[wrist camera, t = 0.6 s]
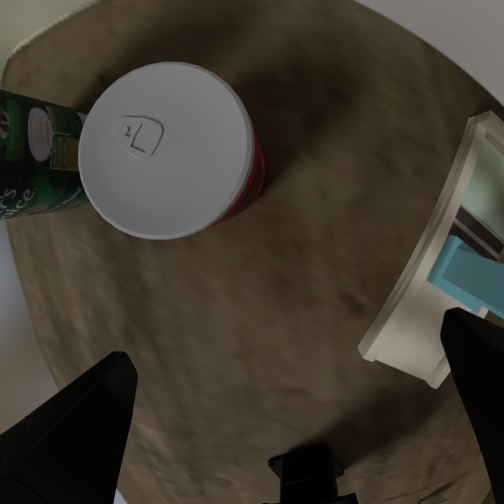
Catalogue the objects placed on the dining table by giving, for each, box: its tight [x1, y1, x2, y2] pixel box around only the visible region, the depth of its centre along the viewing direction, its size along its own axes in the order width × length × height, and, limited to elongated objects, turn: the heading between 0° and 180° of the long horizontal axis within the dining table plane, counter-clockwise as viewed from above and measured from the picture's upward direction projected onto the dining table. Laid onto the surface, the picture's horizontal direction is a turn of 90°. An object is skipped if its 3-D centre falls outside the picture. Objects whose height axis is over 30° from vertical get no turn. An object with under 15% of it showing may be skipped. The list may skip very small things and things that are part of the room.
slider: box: [426, 235, 504, 319], centre depth 15 cm, size 4×6×10 cm, turn 63°
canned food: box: [78, 62, 265, 239], centre depth 16 cm, size 8×8×11 cm
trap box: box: [357, 110, 504, 389], centre depth 19 cm, size 22×9×4 cm, turn 153°
